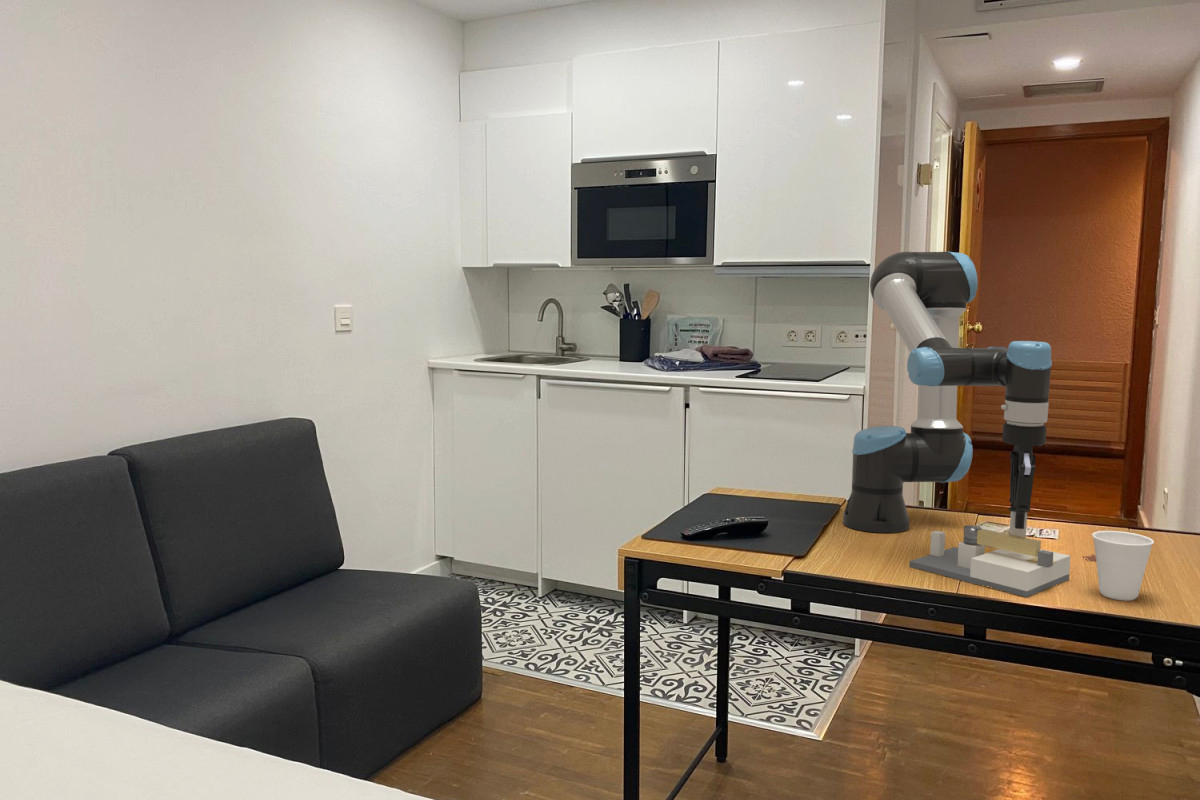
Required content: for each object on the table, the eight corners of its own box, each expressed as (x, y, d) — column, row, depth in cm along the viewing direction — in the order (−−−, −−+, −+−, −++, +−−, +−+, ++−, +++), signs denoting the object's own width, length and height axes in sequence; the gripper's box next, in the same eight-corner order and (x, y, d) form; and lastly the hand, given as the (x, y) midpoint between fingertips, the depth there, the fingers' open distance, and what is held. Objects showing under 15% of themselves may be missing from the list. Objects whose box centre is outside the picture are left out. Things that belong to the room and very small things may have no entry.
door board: (909, 566, 186) (911, 531, 185) (954, 552, 197) (955, 518, 196) (1031, 599, 167) (1034, 559, 166) (1074, 580, 178) (1076, 543, 177)
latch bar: (960, 541, 182) (961, 527, 182) (968, 539, 184) (969, 524, 184) (1034, 558, 171) (1035, 542, 171) (1042, 555, 173) (1042, 539, 173)
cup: (1091, 600, 166) (1096, 541, 165) (1084, 584, 175) (1088, 528, 174) (1154, 607, 163) (1159, 547, 161) (1143, 590, 172) (1148, 533, 171)
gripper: (998, 417, 182) (991, 533, 185) (1008, 427, 169) (1000, 551, 172) (1040, 418, 179) (1032, 536, 183) (1053, 429, 167) (1044, 554, 170)
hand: (1017, 543), depth 177 cm, fingers closed
